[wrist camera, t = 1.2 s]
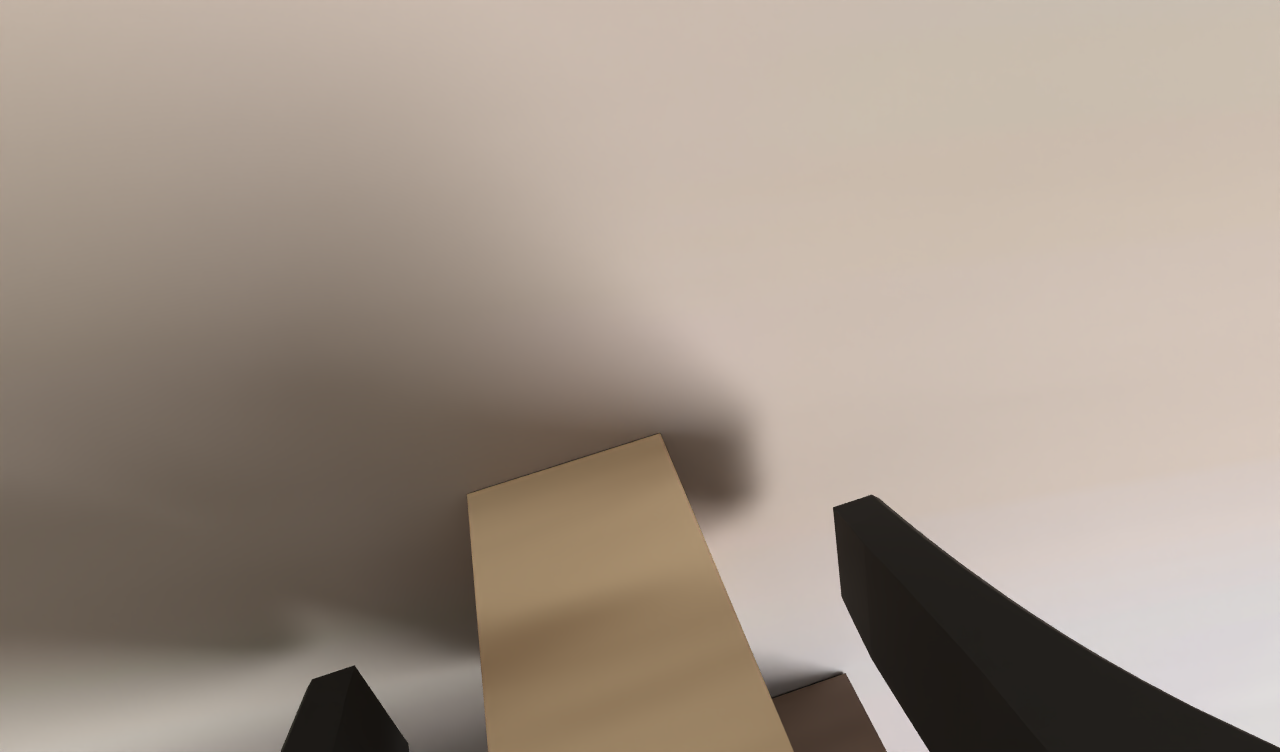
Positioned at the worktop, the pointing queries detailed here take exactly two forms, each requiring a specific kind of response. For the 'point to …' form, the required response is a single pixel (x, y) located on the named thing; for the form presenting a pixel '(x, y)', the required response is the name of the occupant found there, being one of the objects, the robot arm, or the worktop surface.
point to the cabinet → (827, 719)
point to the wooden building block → (609, 616)
